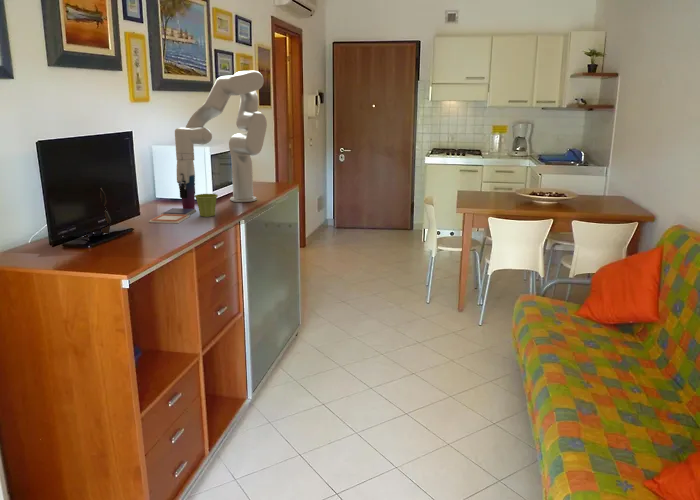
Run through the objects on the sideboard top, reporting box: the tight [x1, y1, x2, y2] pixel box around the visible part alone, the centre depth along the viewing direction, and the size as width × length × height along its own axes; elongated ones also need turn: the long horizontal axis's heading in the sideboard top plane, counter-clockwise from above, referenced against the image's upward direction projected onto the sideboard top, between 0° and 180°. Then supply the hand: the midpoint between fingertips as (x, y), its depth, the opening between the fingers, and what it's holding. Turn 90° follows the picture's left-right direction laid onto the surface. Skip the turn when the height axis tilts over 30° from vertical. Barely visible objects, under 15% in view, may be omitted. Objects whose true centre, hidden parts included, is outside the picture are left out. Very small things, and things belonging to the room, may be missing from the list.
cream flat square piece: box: [148, 214, 190, 224], centre depth 230 cm, size 12×12×1 cm
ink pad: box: [160, 207, 197, 216], centre depth 242 cm, size 11×11×1 cm
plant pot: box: [195, 193, 219, 218], centre depth 237 cm, size 9×9×9 cm
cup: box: [181, 174, 196, 209], centre depth 250 cm, size 7×7×15 cm
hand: (187, 196), depth 251 cm, fingers open, 8 cm apart
